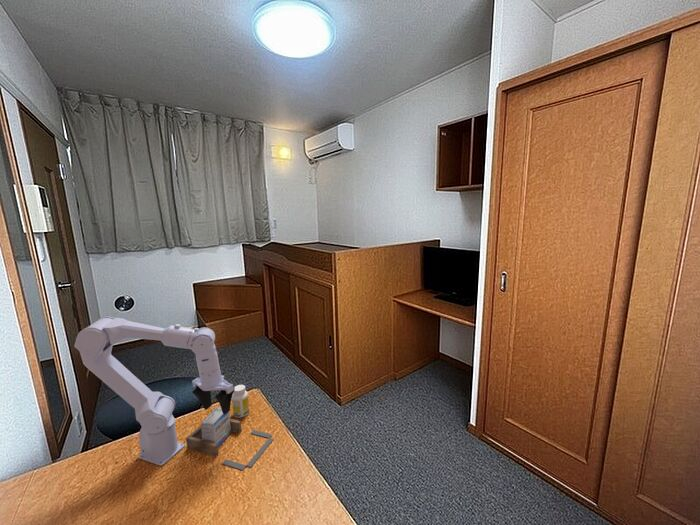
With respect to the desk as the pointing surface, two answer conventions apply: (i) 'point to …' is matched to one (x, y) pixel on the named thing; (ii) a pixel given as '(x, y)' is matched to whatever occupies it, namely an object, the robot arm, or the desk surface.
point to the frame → (257, 455)
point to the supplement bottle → (240, 401)
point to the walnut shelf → (208, 447)
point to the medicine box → (216, 427)
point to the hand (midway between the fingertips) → (217, 409)
